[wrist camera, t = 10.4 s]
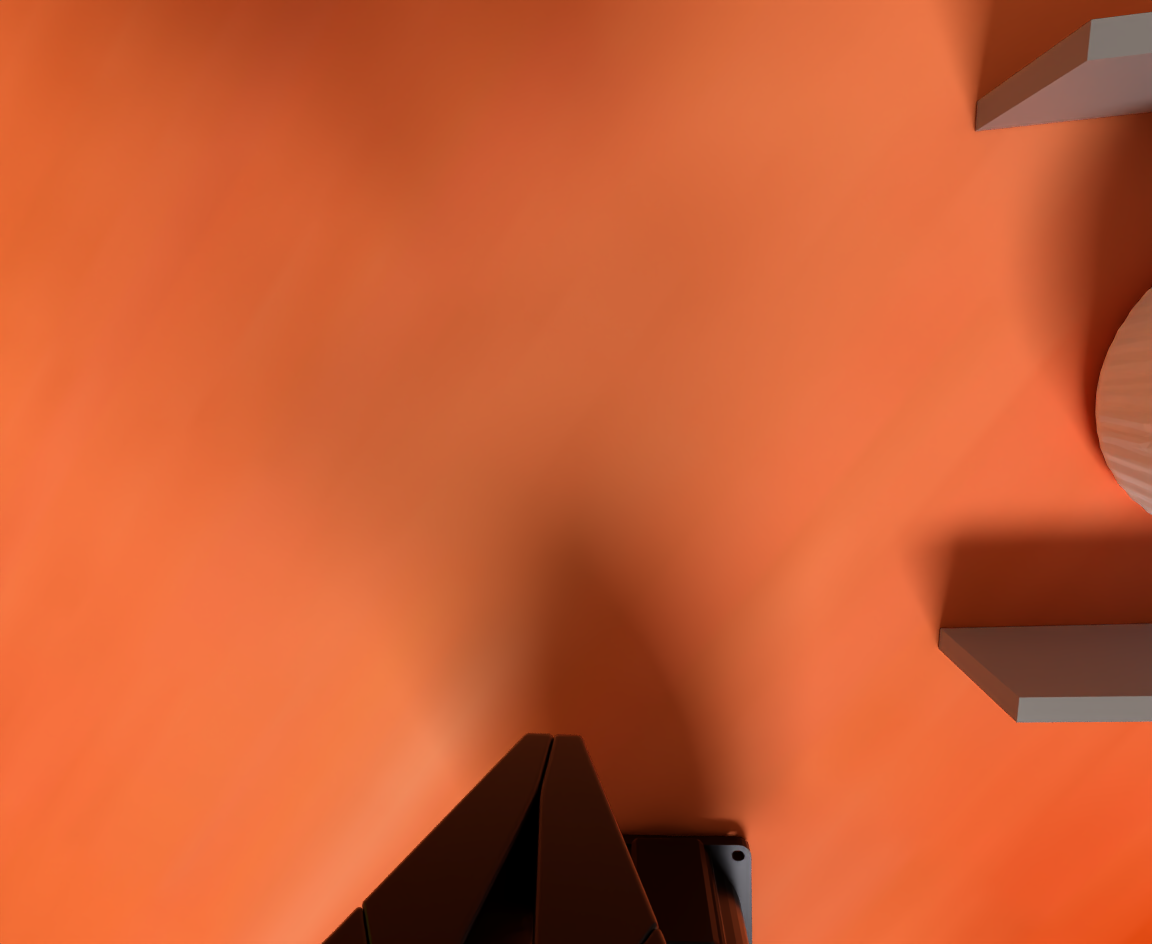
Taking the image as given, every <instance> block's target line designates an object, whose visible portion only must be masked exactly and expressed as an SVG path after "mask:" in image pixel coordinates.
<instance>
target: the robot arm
mask: <svg viewBox="0 0 1152 944" xmlns="http://www.w3.org/2000/svg"><path fill="white" fill-rule="evenodd" d="M737 850H739V851H740V852H734V851H737ZM322 944H752V889H751V853H750V849H749V845H748V843H747V841H746V840H745V839H743V838H741V837H736V836H667V835H622V834H621V831H620V829H619V826H618V824H617V822H616V819H615V817H614V814H613V812H612V809H611V807H610V804H609V802H608V799H607V797H606V794H605V792H604V789H603V787H602V785H601V782H600V780H599V777H598V775H597V772H596V770H595V767H594V765H593V762H592V760H591V757H590V755H589V752H588V750H587V748H586V745H585V743H584V740H583V738H582V737H581V736H580V735H566V734H558V735H556V736H555V737H554V738H553V736H552V735H551V734H542V733H528V734H526V735H524V736H523V737H522V738H521V739H520V740H519V741H518V742H517V743H516V744H515V746H514V747H513V748H512V749H511V750H510V751H509V752H508V753H507V754H506V755H505V756H504V757H503V758H502V759H501V760H500V761H499V762H498V763H497V764H496V765H495V766H494V767H493V768H492V769H491V770H490V771H489V772H488V773H487V774H486V775H485V776H484V777H483V779H482V780H481V781H480V782H479V783H478V784H477V785H476V786H475V787H474V788H473V789H472V790H471V791H470V792H469V793H468V794H467V795H466V796H465V797H464V798H463V799H462V800H461V801H460V802H459V803H458V804H457V805H456V806H455V807H454V808H453V809H452V811H451V812H450V813H449V814H448V815H447V816H446V817H445V818H444V819H443V820H442V821H441V822H440V823H439V824H438V825H437V826H436V827H435V828H434V829H433V830H432V831H431V832H430V833H429V834H428V835H427V836H426V837H425V838H424V839H423V840H422V841H421V842H420V844H419V845H418V846H417V847H416V848H415V849H414V850H413V851H412V852H411V853H410V854H409V855H408V856H407V857H406V858H405V859H404V860H403V861H402V862H401V863H400V864H399V865H398V866H397V867H396V868H395V869H394V870H393V871H392V872H391V873H390V874H389V875H388V877H387V878H386V879H385V880H384V881H383V882H382V883H381V884H380V885H379V886H378V887H377V888H376V889H375V890H374V891H373V892H372V893H371V894H370V895H369V896H368V897H367V898H366V899H365V900H364V901H363V903H362V908H361V907H358V908H356V909H355V910H354V911H353V912H352V913H351V914H350V915H349V916H348V917H347V918H346V919H345V921H344V922H343V923H342V924H341V925H340V926H339V927H338V928H337V929H336V930H335V931H334V932H333V933H332V934H331V935H330V936H329V937H328V938H327V939H326V940H325V941H324V942H323V943H322Z"/></svg>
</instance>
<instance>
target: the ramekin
mask: <svg viewBox="0 0 1152 944" xmlns="http://www.w3.org/2000/svg"><path fill="white" fill-rule="evenodd" d="M1095 416H1096V425H1097V434H1098V437H1099V442H1100V449H1101V451H1102V453H1103V455H1104V458H1105V461H1106V464H1107V466H1108V467H1109V469H1110V470H1111V471H1112V473H1113V475H1114V477H1115V479H1116V481H1117V483H1118V484H1119V485H1120V486H1121V487H1122V488H1123V489H1124V490H1125V491H1126V492H1127V494H1128V495H1129V496H1130V498H1131V499H1132V500H1134V501H1135V502H1137V503H1138V504H1139V505H1141V506H1142V507H1143V508H1144V509H1145V510H1146V511H1147V512H1148V513H1149V514H1151V515H1152V288H1150V289H1149V290H1148V291H1147V292H1146V293H1145V294H1144V295H1143V296H1142V298H1141V299H1140V300H1139V301H1138V303H1137V304H1136V305H1135V306H1134V307H1133V308H1132V310H1131V311H1130V313H1129V314H1128V316H1127V318H1126V320H1125V322H1124V323H1123V324H1122V325H1121V327H1120V328H1119V329H1118V331H1117V333H1116V336H1115V338H1114V340H1113V342H1112V344H1111V345H1110V347H1109V350H1108V352H1107V354H1106V357H1105V360H1104V363H1103V366H1102V369H1101V372H1100V376H1099V381H1098V385H1097V393H1096V410H1095Z"/></svg>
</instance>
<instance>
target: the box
mask: <svg viewBox="0 0 1152 944" xmlns="http://www.w3.org/2000/svg"><path fill="white" fill-rule="evenodd" d="M1147 112H1152V12H1148V13H1140V14H1132V15H1124V16H1116V17H1108V18H1100V19H1092V20H1090V21H1089V22H1087V23H1086V24H1085V25H1083V26H1082V27H1080V28H1079V29H1078V30H1076V31H1075V32H1073V33H1072V34H1071V35H1069V36H1068V37H1066V38H1065V39H1064V40H1062V41H1061V42H1059V43H1058V44H1057V45H1055V46H1054V47H1052V48H1051V49H1050V50H1048V51H1047V52H1045V53H1044V54H1043V55H1041V56H1040V57H1038V58H1037V59H1036V60H1034V61H1033V62H1031V63H1030V64H1029V65H1027V66H1026V67H1024V68H1023V69H1022V70H1020V71H1019V72H1017V73H1016V74H1015V75H1013V76H1012V77H1010V78H1009V79H1008V80H1006V81H1005V82H1003V83H1002V84H1001V85H999V86H998V87H996V88H995V89H994V90H992V91H991V92H989V93H988V94H986V95H985V96H984V97H982V98H981V99H979V100H978V101H977V115H976V130H975V131H982V130H991V129H1000V128H1009V127H1018V126H1028V125H1037V124H1046V123H1055V122H1064V121H1073V120H1082V119H1092V118H1101V117H1110V116H1119V115H1128V114H1137V113H1147ZM939 649H940V650H941V651H942V652H943V653H944V654H945V655H946V656H947V657H948V658H949V659H950V660H951V661H952V662H953V663H954V664H956V665H957V666H958V667H959V668H960V669H961V670H962V671H963V672H964V673H965V674H966V675H967V676H968V677H969V678H970V679H971V680H972V681H974V682H975V683H976V684H977V685H978V686H979V687H980V688H981V689H982V690H983V691H984V692H985V693H986V694H987V695H988V696H989V697H990V698H992V699H993V700H994V701H995V702H996V703H997V704H998V705H999V706H1000V707H1001V708H1002V709H1003V710H1004V711H1005V712H1006V713H1007V714H1008V715H1010V716H1011V717H1012V718H1013V719H1014V720H1015V721H1016V722H1142V721H1152V623H1149V624H1106V625H1063V626H1020V627H977V628H940V640H939Z"/></svg>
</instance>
